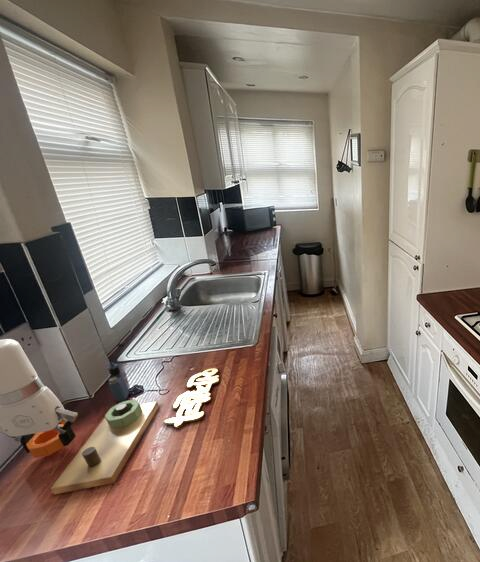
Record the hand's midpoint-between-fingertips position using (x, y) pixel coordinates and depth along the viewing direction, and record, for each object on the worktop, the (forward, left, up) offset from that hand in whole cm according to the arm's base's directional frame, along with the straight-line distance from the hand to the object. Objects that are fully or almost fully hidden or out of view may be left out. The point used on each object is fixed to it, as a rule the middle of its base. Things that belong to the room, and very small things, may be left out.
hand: (52, 444), depth 78 cm
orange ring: (0, 0, 0) cm, 0 cm away
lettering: (+30, +13, -3) cm, 33 cm away
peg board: (+14, -1, -3) cm, 14 cm away
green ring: (+14, +6, -1) cm, 15 cm away
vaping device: (+7, +18, -3) cm, 19 cm away
